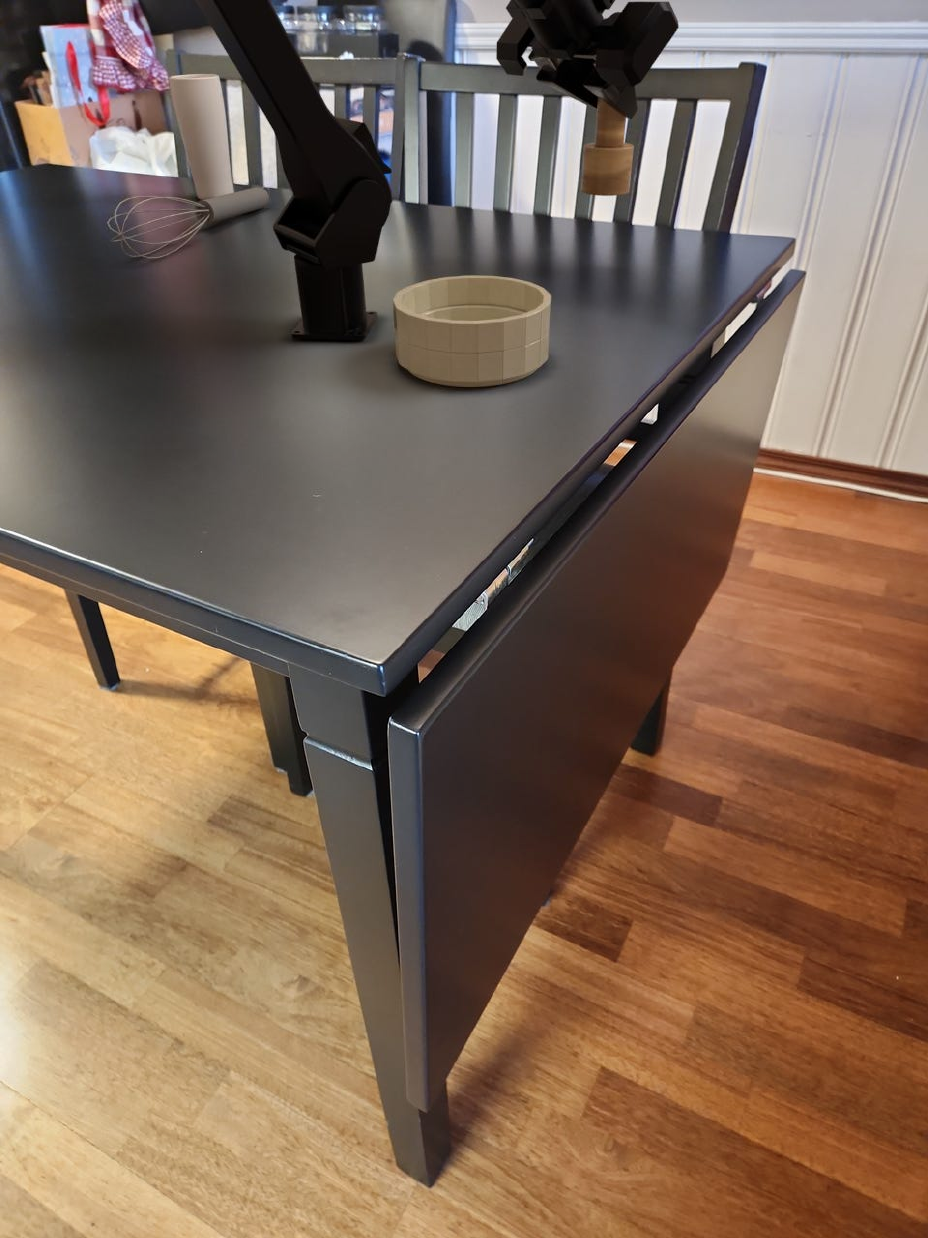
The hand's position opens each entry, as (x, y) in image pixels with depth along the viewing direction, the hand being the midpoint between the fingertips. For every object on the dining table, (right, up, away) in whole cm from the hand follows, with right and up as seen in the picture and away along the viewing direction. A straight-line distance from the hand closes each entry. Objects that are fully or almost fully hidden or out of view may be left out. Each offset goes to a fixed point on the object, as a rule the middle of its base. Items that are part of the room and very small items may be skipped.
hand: (622, 113), depth 79 cm
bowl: (-14, -28, -12) cm, 33 cm away
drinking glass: (-51, +13, +42) cm, 68 cm away
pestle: (-1, -6, +3) cm, 7 cm away
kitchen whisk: (-48, 0, +25) cm, 54 cm away
